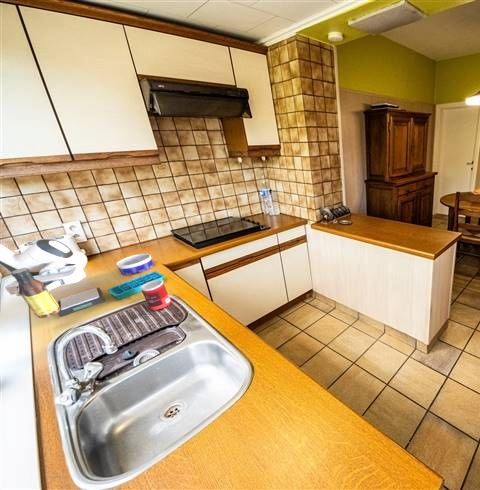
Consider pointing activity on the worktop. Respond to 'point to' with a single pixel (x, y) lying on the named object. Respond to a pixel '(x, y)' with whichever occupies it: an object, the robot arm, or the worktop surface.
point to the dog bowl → (135, 264)
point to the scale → (80, 301)
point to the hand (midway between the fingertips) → (32, 291)
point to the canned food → (156, 295)
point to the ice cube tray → (134, 285)
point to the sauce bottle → (35, 294)
